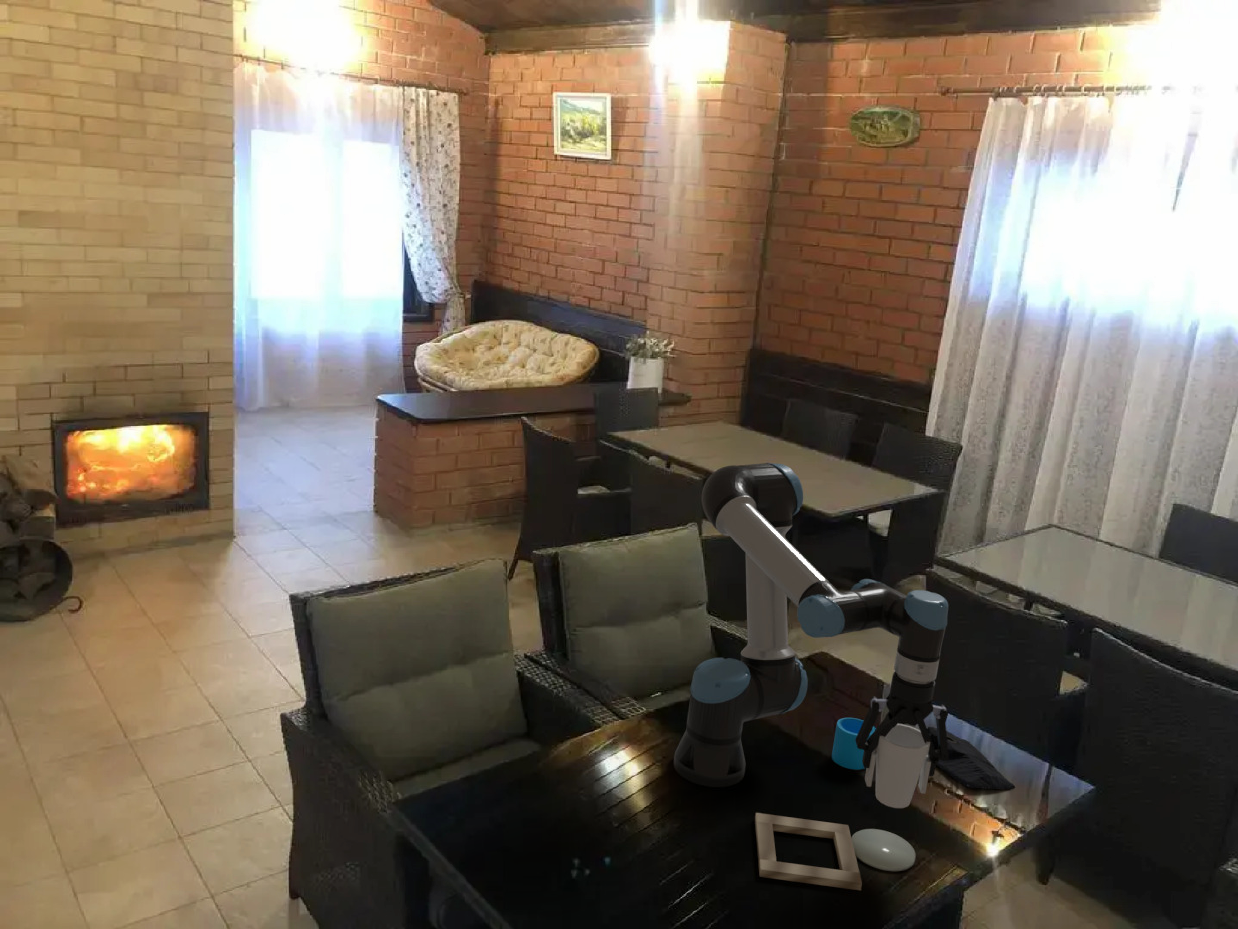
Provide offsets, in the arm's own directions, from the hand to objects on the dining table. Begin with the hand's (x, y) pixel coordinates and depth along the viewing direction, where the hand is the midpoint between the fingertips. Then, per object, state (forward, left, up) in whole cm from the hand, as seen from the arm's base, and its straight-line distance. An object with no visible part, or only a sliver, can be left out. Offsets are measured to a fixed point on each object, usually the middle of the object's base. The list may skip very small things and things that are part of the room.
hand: (894, 786), depth 191 cm
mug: (0, +35, -14) cm, 38 cm away
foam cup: (0, 0, -3) cm, 3 cm away
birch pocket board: (-15, -4, -14) cm, 21 cm away
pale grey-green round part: (0, 0, -14) cm, 14 cm away
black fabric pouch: (+24, +38, -15) cm, 47 cm away
